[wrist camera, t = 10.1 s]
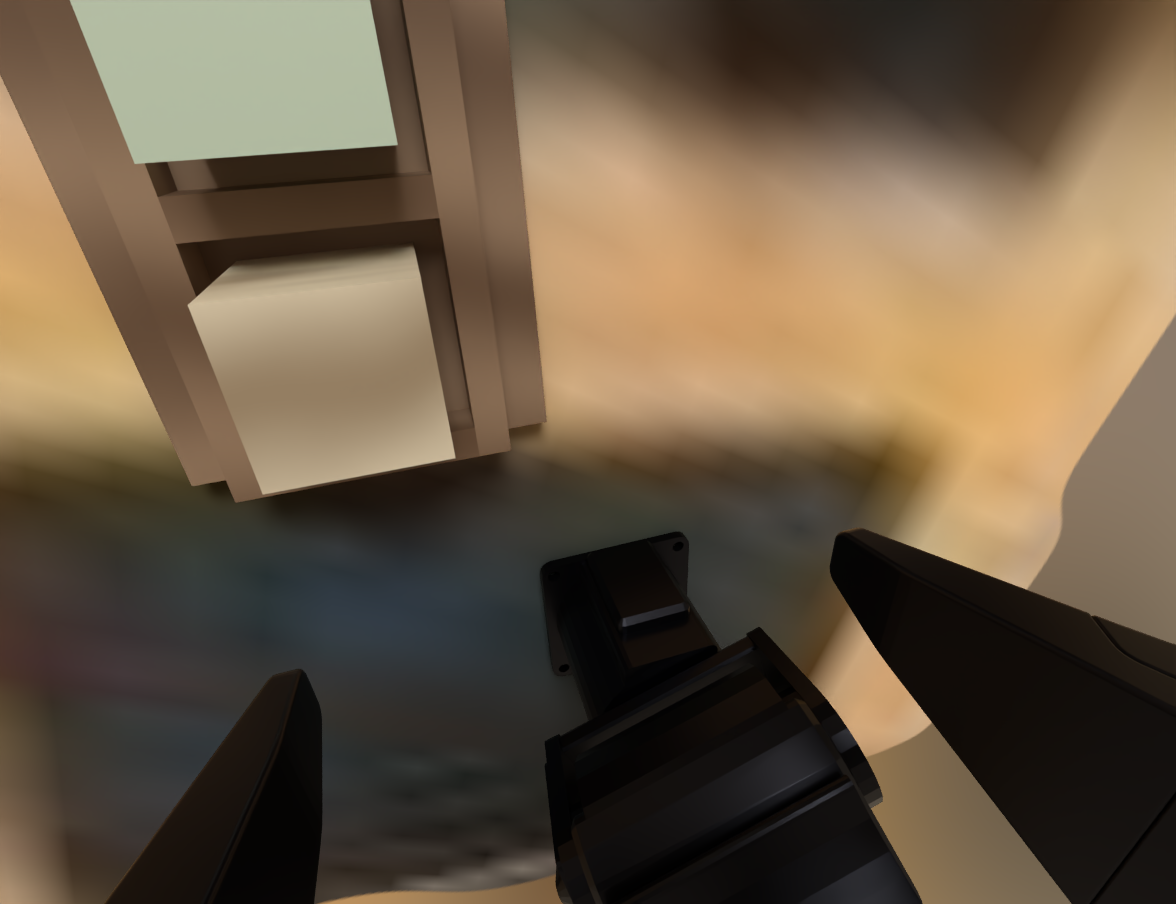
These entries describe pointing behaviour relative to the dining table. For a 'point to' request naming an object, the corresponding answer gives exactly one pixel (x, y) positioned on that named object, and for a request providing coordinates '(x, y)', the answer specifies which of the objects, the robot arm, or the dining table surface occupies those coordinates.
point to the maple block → (326, 364)
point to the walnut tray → (304, 218)
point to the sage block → (239, 75)
